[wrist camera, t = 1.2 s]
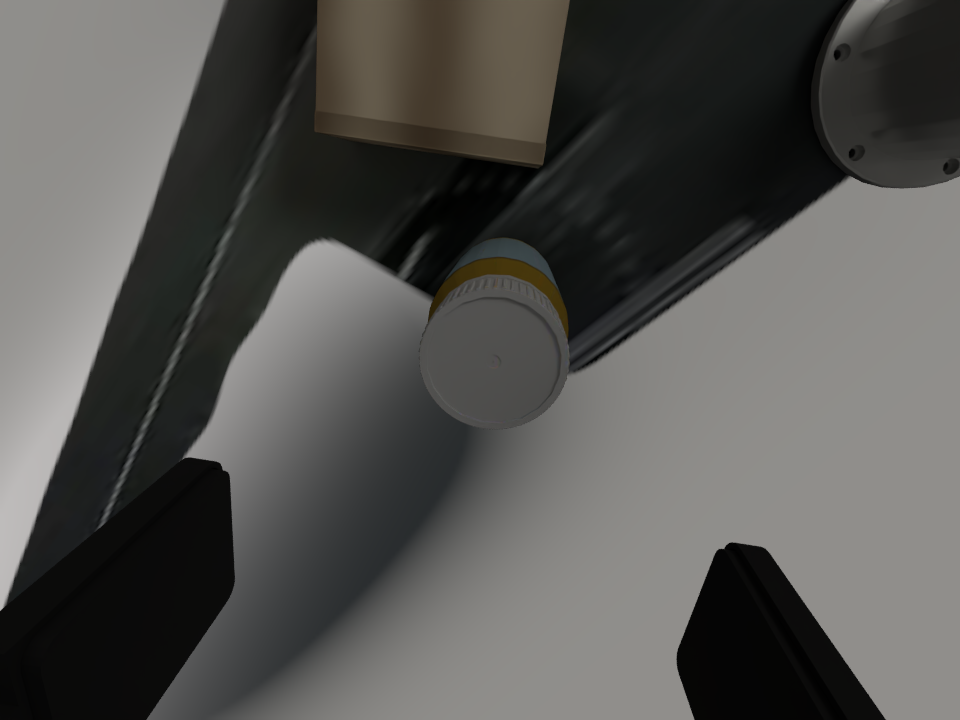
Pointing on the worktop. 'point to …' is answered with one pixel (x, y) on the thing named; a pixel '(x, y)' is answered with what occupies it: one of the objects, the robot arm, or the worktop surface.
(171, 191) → the worktop surface
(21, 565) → the worktop surface
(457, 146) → the chopping block
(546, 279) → the bottle
